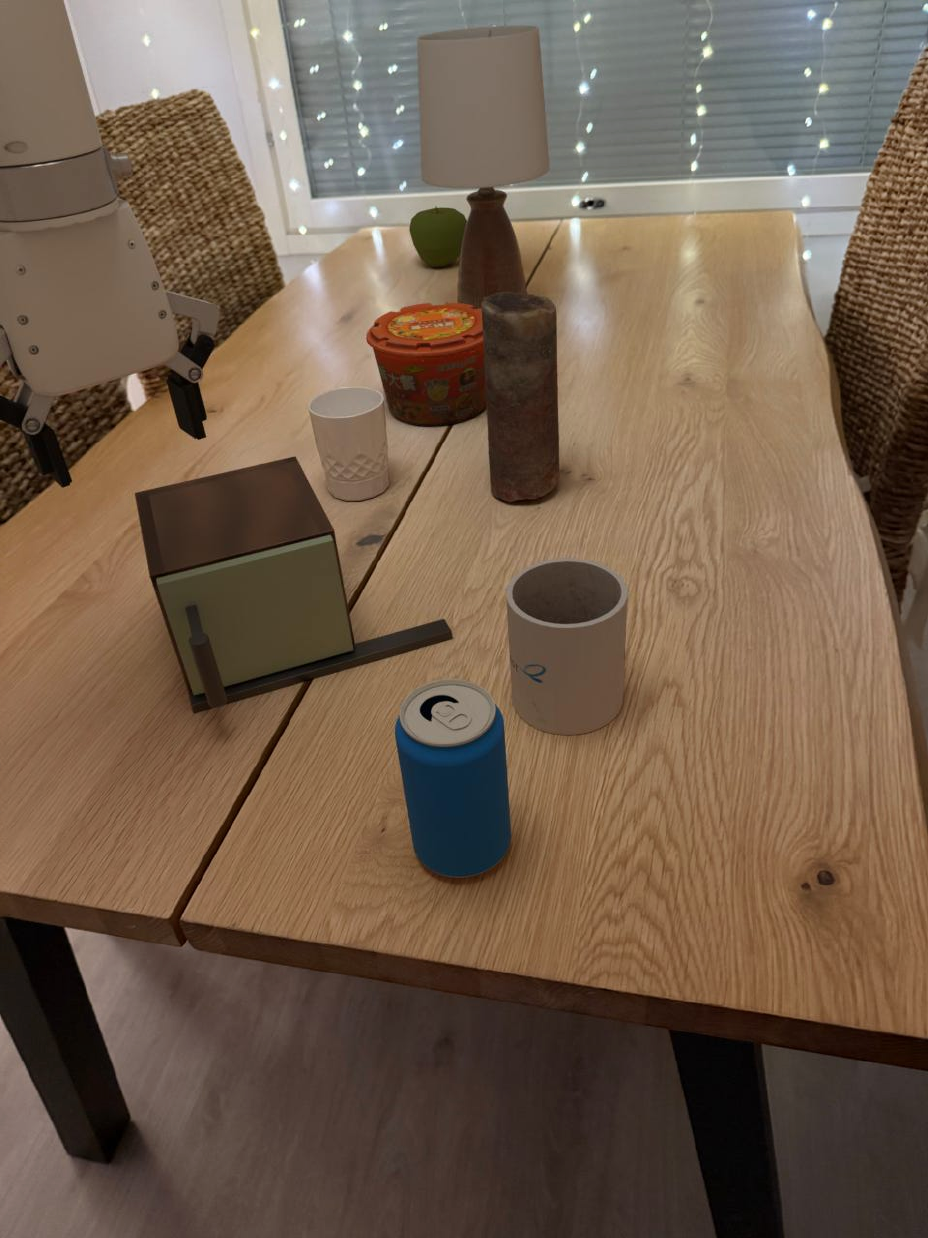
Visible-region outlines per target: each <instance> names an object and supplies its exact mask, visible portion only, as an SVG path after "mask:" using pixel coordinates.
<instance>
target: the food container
mask: <svg viewBox="0 0 928 1238" xmlns="http://www.w3.org/2000/svg"><path fill="white" fill-rule="evenodd" d="M365 337H366V338H365V339H366V344H367V345H369V346H370V347H372V351H373V353H374V358H375V361H376V366H377V369H378V373H379V377H380V382H381V384H382V388H383V394H384V397H385V400H386V403H387V408H388V410H389V411H388V412H389V413H390V414H391V415H392V416H393V417H394V418H395V419H397V420H398V421H401V422H403V423H406V424H408V425H413V426H421V427H436V426H437V427H439V426H448V425H455V424H459V423H463V422H465V421H468V420H470V419H472V418H474V417H477V416H478V415H479V414H481V413H482V412H484V411H485V410H486V409H487V403H486V382H485V364H484V342H483V327H482V309H481V308H479V309H474V308H473V306H472V305H468V304H463V303H457V302H450V301H449V302H444V304H432V303H431V302H425V303H417V304H411V305H408V306H403V307H401V308H400V310H399V311H393V310H392V311H388V312H386V313H384V314H382V315H380V316H379V317H378V318H376V319H375V320H374V322H373V325H372V326H370V328H369V329H368V330H367V332H366V335H365Z"/></svg>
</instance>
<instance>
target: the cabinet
mask: <svg viewBox="0 0 928 1238" xmlns="http://www.w3.org/2000/svg"><path fill="white" fill-rule="evenodd" d="M134 498H135V504H136V509H137V515H138V521H139V527H140V530H141V536H142V542H143V546H144V553H145V559H146V564H147V570H148V576H149V578H150V583H151V585H152V587H153V591H154V594H155V596H156V600H157V602H158V606H159V609H160V611H161V615H162V618H163V621H164V623H165V626H166V630H167V633H168V635H169V639H170V642H171V644H172V647H173V650H174V653H175V656H176V660H177V663H178V665H179V668H180V671H181V674H182V678H183V681H184V684H185V687H186V690H187V693H188V698H189V702H190V703H189V704H190V707H191V710H192V713H193V714H196V713H199V712H202V711H206V710H209V709H212V708H214V707H211V706H210V705H209V704H208V701H207V698H206V695H205V693H201V694H198V695H194V694H193V691H192V688H191V685H190V682H189V679H188V676H187V673H186V670H185V667H184V664H183V661H182V658H181V655H180V652H179V649H178V646H177V643H176V640H175V637H174V634H173V631H172V628H171V625H170V622H169V619H168V616H167V613H166V610H165V607H164V604H163V601H162V598H161V595H160V592H159V589H158V586H157V581H156V579H157V578H160V577H164V576H168V575H172V574H176V573H180V572H184V571H188V570H192V569H196V568H200V567H204V566H208V565H212V564H216V563H220V562H224V561H228V560H232V559H236V558H240V557H243V556H247V555H251V554H255V553H259V552H263V551H267V550H271V549H275V548H279V547H283V546H287V545H291V544H295V543H299V542H303V541H307V540H311V539H315V538H319V537H323V536H327V535H331V537H332V539H333V541H334V547H335V552H336V558H337V563H338V568H339V574H340V579H341V585H342V590H343V595H344V601H345V606H346V612H347V617H348V622H349V628H350V633H351V639H352V644H353V650H352V651H349V652H345V653H342V654H338V655H335V656H331V657H328V658H324V659H321V660H317V661H314V662H310V663H307V664H303V665H300V666H296V667H293V668H289V669H286V670H282V671H279V672H275V673H272V674H268V675H264V676H261V677H257V678H254V679H250V680H247V681H243V682H240V683H236V684H233V685H229V686H226V687H224V690H225V693H226V696H227V702H226V703H225V704H224V705H227V704H230V703H233V702H237V701H240V700H244V699H247V698H250V697H254V696H258V695H261V694H264V693H265V694H266V693H268V692H272V691H275V690H279V689H282V688H285V687H289V686H293V685H297V684H300V683H303V682H306V681H309V680H313V679H317V678H320V677H323V676H326V675H330V674H334V673H337V672H340V671H341V672H342V671H345V670H348V669H352V668H354V667H358V666H361V665H365V664H368V663H371V662H375V661H379V660H382V659H386V658H389V657H393V656H396V655H399V654H403V653H407V652H410V651H413V650H416V649H420V648H423V647H427V646H431V645H434V644H438V643H442V642H444V641H449V640H452V639H453V631H452V629H451V627H450V626H449V624H448V622H447V621H446V620H445V618H442V619H438V620H434V621H431V622H427V623H423V624H420V625H416V626H413V627H409V628H406V629H402V630H399V631H395V632H392V633H389V634H385V635H381V636H378V637H375V638H371V639H367V640H363V641H360V642H355V637H354V632H353V626H352V621H351V614H350V609H349V603H348V599H347V592H346V587H345V581H344V576H343V571H342V566H341V560H340V555H339V549H338V543H337V538H336V533H335V532H336V531H335V528H334V527H333V524H332V523H331V521H330V519H329V517H328V515H327V514H326V512H325V510H324V508H323V506H322V504H321V502H320V500H319V498H318V496H317V494H316V493H315V491H314V489H313V486H312V485H311V483H310V481H309V479H308V477H307V475H306V473H305V471H304V469H303V468H302V466H301V464H300V461H299V460H298V458H297V456H296V455H295V456H290V457H286V458H281V459H278V460H272V461H268V462H264V463H260V464H255V465H251V466H246V467H243V468H238V469H233V470H230V471H224V472H220V473H216V474H212V475H207V476H201V477H199V478H194V479H190V480H184V481H180V482H177V483H173V484H167V485H163V486H158V487H154V488H150V489H146V490H141V491H137V492H134Z"/></svg>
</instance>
